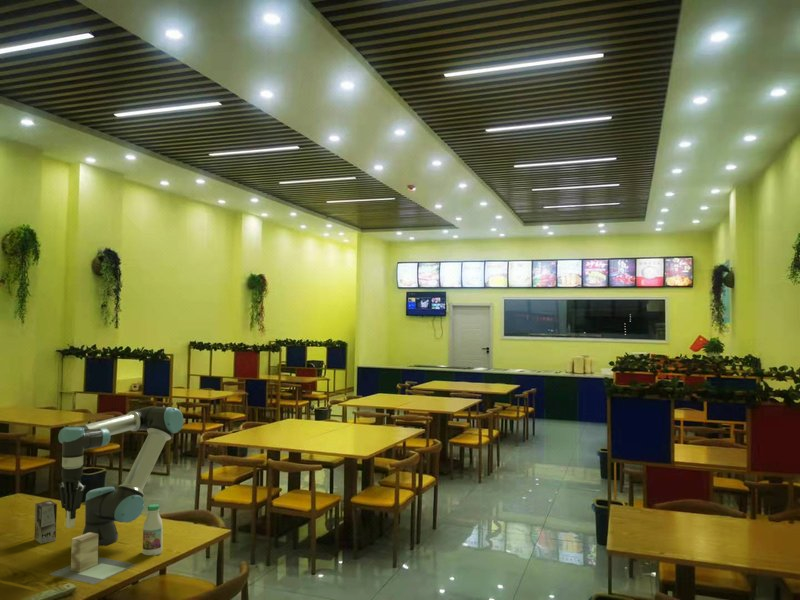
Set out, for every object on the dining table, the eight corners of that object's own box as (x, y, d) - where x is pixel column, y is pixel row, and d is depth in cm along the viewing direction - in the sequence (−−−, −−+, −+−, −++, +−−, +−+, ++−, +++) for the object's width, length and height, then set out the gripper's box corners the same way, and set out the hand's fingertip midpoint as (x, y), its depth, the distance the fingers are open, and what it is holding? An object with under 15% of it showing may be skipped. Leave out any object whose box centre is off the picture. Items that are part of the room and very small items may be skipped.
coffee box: (56, 540, 267) (57, 503, 267) (40, 544, 262) (41, 507, 263) (49, 535, 273) (50, 499, 274) (33, 539, 268) (34, 502, 269)
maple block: (70, 570, 232) (71, 538, 232) (88, 562, 239) (89, 532, 240) (80, 572, 230) (80, 540, 230) (97, 564, 237) (98, 533, 238)
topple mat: (48, 576, 228) (48, 574, 228) (93, 557, 246) (93, 555, 246) (94, 586, 219) (94, 584, 219) (137, 566, 237) (137, 564, 237)
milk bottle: (146, 550, 255) (147, 502, 256) (164, 549, 255) (165, 502, 256) (139, 557, 247) (140, 508, 248) (158, 556, 248) (159, 507, 249)
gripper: (52, 467, 238) (50, 527, 237) (75, 470, 233) (73, 531, 232) (69, 463, 245) (67, 522, 244) (92, 466, 240) (90, 526, 239)
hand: (70, 526), depth 238 cm, fingers closed
